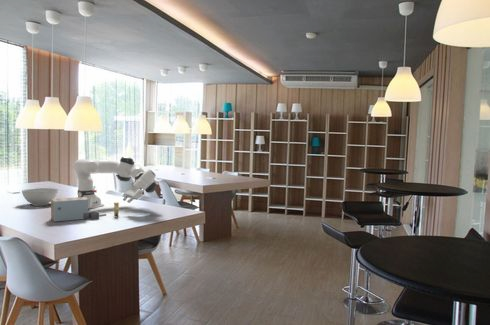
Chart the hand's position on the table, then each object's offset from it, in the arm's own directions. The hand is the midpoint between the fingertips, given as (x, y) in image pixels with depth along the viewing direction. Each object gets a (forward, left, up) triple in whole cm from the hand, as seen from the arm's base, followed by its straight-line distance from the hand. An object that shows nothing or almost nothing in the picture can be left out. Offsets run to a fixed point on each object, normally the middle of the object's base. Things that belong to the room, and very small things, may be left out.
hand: (125, 201), depth 286 cm
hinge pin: (+5, -4, -11) cm, 13 cm away
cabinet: (+29, -25, -11) cm, 39 cm away
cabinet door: (+32, -19, -10) cm, 39 cm away
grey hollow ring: (+21, -13, -11) cm, 27 cm away
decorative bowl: (0, -90, -11) cm, 91 cm away
